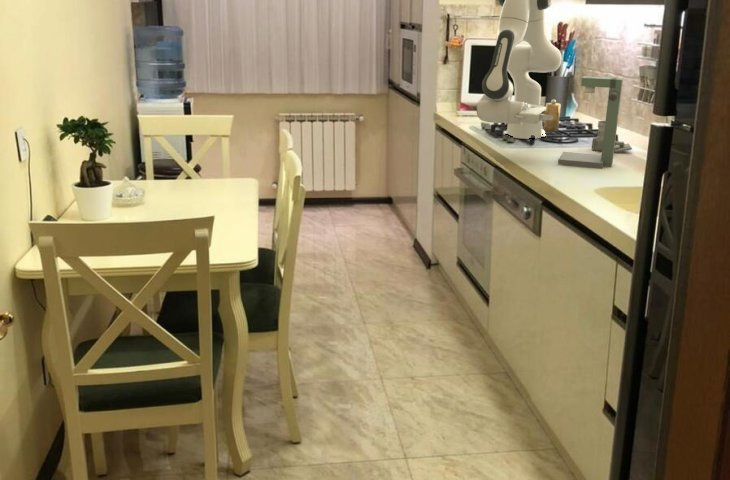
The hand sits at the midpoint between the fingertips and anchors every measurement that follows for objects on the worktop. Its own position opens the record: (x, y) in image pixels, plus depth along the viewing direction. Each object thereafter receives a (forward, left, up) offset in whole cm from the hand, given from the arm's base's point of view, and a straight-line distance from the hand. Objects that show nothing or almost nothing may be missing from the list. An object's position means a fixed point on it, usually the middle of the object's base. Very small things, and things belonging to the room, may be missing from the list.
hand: (554, 116), depth 283 cm
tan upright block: (0, -1, -5) cm, 6 cm away
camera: (-26, +21, -17) cm, 37 cm away
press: (+3, +13, -17) cm, 22 cm away
